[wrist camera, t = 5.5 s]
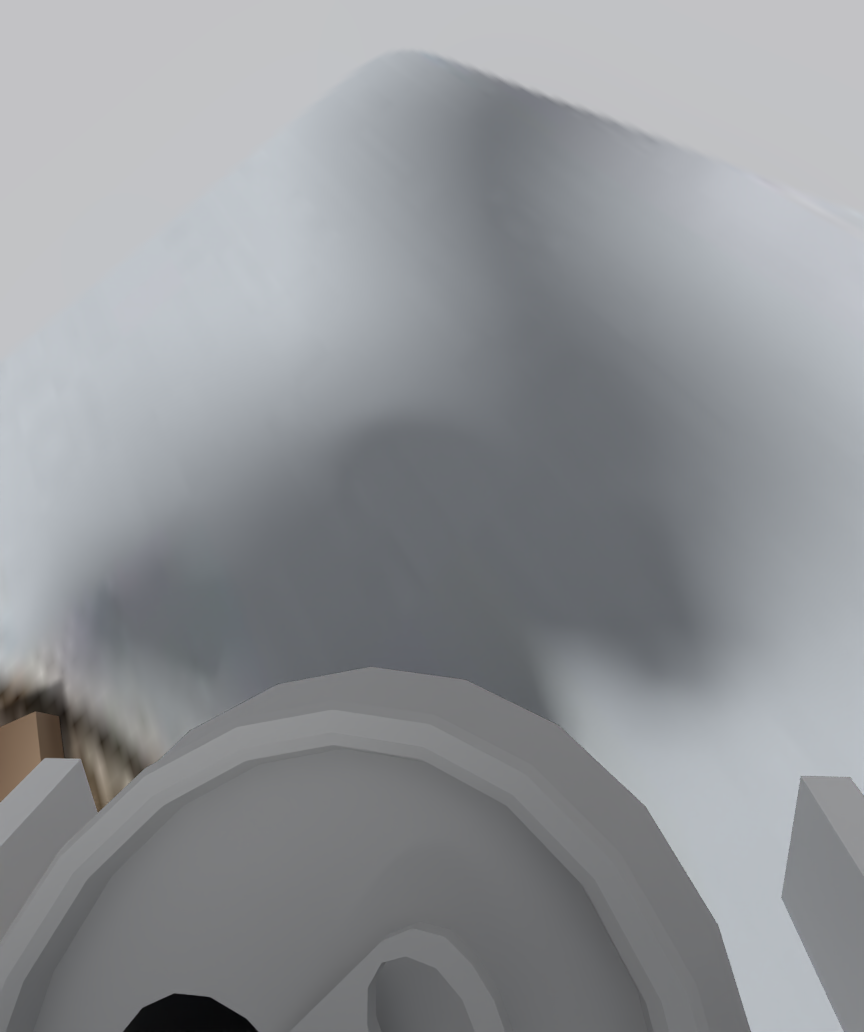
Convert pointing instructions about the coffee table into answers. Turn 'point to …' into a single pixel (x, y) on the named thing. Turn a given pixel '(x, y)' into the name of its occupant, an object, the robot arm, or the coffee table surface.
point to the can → (369, 882)
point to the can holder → (27, 747)
